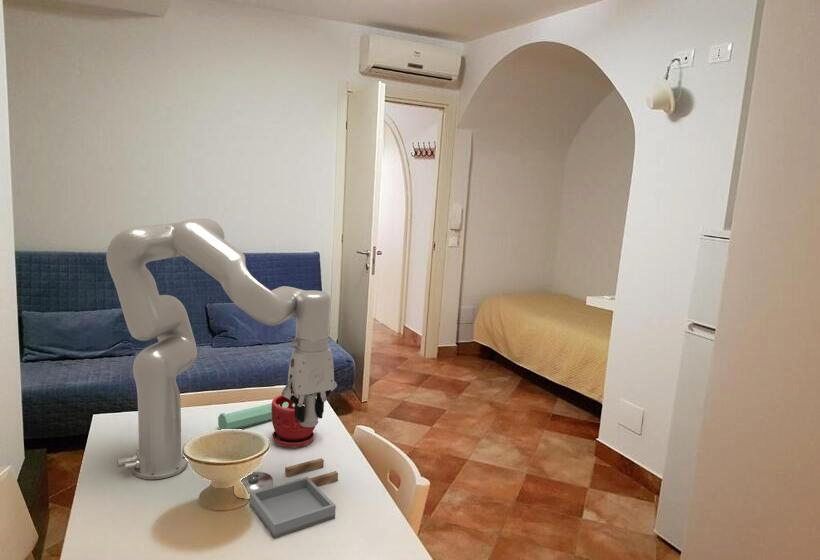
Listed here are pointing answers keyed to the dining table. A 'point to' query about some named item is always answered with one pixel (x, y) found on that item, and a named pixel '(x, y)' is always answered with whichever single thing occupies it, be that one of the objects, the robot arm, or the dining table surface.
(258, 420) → the mint green rod
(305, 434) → the plant pot
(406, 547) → the dining table surface
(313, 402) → the rook chess piece
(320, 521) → the tray
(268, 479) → the pulley
